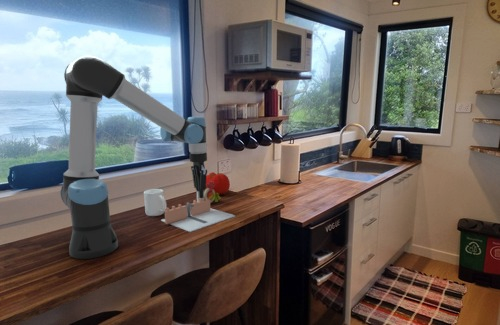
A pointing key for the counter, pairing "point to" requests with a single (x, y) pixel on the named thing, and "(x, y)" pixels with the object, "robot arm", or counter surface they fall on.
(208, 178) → the tomato
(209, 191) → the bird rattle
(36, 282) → the counter surface
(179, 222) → the card
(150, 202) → the mug
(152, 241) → the counter surface
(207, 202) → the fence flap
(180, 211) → the fence fixed
